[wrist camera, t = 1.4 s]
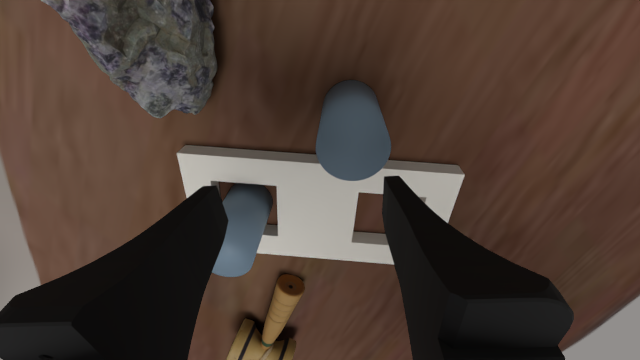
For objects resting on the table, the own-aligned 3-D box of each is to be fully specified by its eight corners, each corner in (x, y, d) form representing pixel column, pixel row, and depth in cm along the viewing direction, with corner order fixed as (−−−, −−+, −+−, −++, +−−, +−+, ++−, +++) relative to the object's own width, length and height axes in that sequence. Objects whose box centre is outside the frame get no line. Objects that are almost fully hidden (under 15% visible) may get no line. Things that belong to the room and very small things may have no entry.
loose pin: (381, 81, 21) (397, 115, 15) (373, 135, 23) (384, 183, 17) (324, 78, 21) (317, 110, 15) (321, 131, 23) (314, 178, 17)
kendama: (253, 254, 33) (219, 359, 40) (250, 301, 27) (211, 413, 34) (319, 264, 35) (276, 362, 42) (329, 310, 29) (278, 414, 36)
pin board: (458, 165, 24) (464, 174, 23) (428, 255, 29) (432, 267, 28) (185, 144, 24) (176, 153, 23) (204, 237, 30) (197, 248, 28)
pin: (272, 182, 26) (251, 238, 20) (273, 218, 28) (254, 279, 22) (226, 178, 26) (191, 233, 20) (230, 215, 28) (200, 274, 22)
